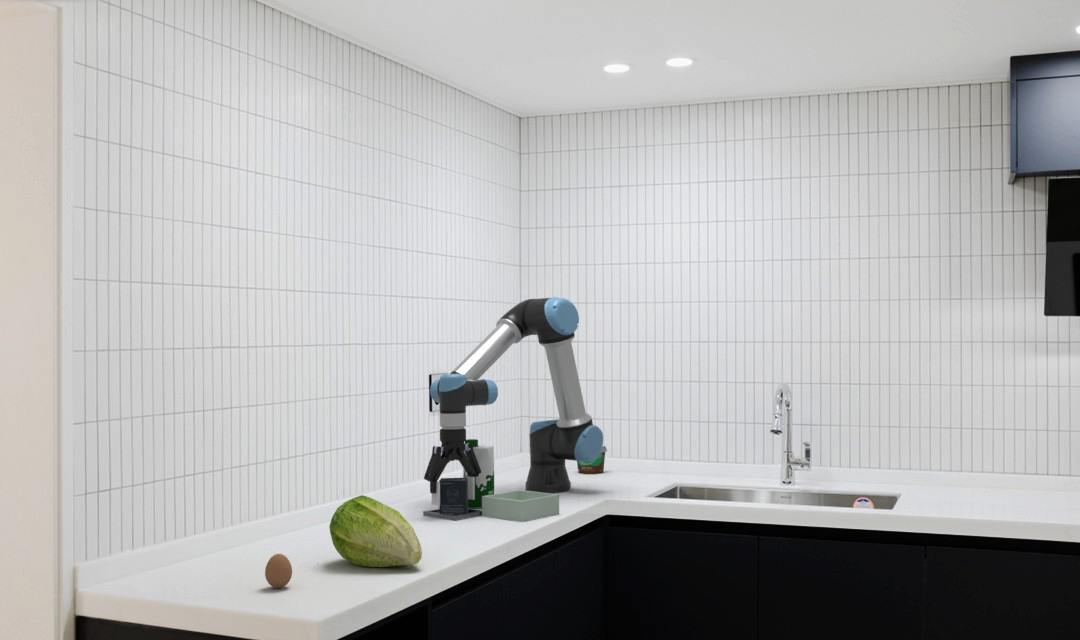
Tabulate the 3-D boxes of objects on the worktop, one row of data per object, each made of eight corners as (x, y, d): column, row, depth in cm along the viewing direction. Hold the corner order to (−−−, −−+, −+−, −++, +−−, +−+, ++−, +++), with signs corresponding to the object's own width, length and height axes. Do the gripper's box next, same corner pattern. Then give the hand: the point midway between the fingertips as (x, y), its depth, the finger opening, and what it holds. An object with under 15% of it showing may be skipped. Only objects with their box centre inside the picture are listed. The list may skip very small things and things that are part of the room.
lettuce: (437, 580, 238) (385, 600, 226) (364, 536, 253) (311, 553, 241) (446, 520, 235) (394, 537, 223) (372, 478, 249) (319, 493, 237)
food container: (572, 474, 389) (571, 447, 389) (574, 472, 395) (574, 445, 395) (605, 474, 387) (605, 447, 387) (607, 472, 393) (606, 445, 393)
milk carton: (468, 503, 324) (467, 438, 324) (497, 504, 322) (496, 438, 323) (460, 508, 315) (459, 441, 316) (490, 508, 314) (489, 441, 314)
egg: (259, 590, 216) (259, 555, 216) (275, 584, 221) (275, 550, 221) (282, 592, 214) (281, 557, 214) (297, 585, 219) (297, 552, 219)
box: (468, 513, 306) (467, 477, 306) (466, 517, 300) (466, 479, 300) (441, 514, 306) (440, 477, 306) (439, 517, 300) (438, 480, 300)
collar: (452, 510, 312) (452, 506, 312) (484, 515, 303) (484, 510, 303) (423, 515, 303) (423, 511, 303) (455, 520, 294) (455, 516, 294)
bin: (519, 508, 313) (519, 489, 313) (559, 514, 302) (558, 494, 302) (482, 515, 301) (481, 496, 301) (521, 521, 291) (521, 501, 291)
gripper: (474, 424, 315) (475, 495, 315) (411, 430, 297) (411, 505, 296) (492, 425, 310) (493, 498, 310) (429, 431, 292) (429, 508, 291)
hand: (453, 502), depth 303 cm, fingers open, 13 cm apart
